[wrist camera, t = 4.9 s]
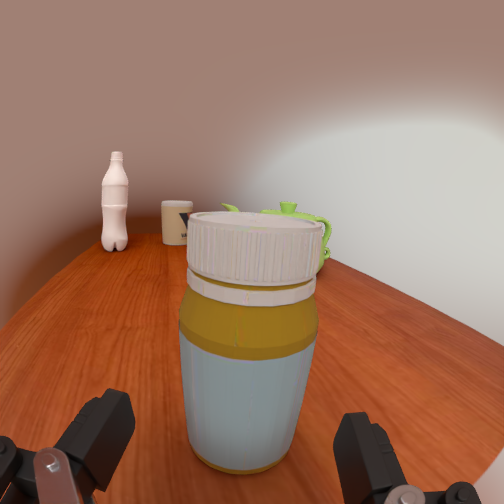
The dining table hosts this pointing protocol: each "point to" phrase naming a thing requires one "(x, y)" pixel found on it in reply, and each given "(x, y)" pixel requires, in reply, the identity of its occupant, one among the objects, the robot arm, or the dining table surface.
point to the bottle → (247, 335)
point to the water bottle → (114, 205)
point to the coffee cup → (175, 221)
